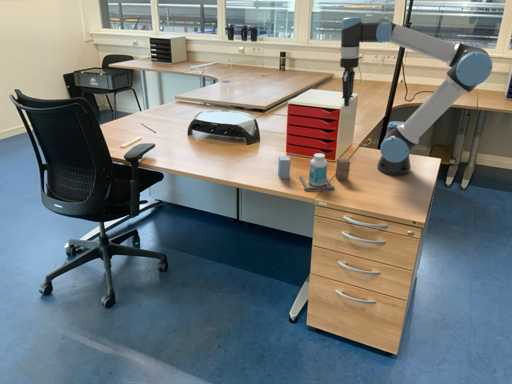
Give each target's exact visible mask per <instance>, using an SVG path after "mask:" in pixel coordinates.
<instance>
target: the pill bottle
mask: <svg viewBox="0 0 512 384" xmlns="http://www.w3.org/2000/svg"><path fill="white" fill-rule="evenodd" d="M325 158H326V155H325V154H324V153H320V152H319V153H314V154H313V158H312V159H311V160H310V162H309V170H308V171H309V174H308V175H309V176H308V184H309V185H310V186H311V187H324V186H325V185H326V184H327V182H326V176H327V170H328V161H327V160H326V159H325Z"/></svg>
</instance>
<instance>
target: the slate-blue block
mask: <svg viewBox="0 0 512 384" xmlns="http://www.w3.org/2000/svg"><path fill="white" fill-rule="evenodd" d="M291 160H292V159H291V157H290V156H289V155H287V156H286V155H284V156H283V155H281V156H278V165H277V166H278V167H277V176H278V178H279V179H281V178H287V179H290V177H291V176H290V175H291V162H292V161H291ZM281 180H282V179H281Z"/></svg>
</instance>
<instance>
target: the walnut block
mask: <svg viewBox="0 0 512 384" xmlns="http://www.w3.org/2000/svg"><path fill="white" fill-rule="evenodd" d="M335 167H336V168H335V175H334V176H335V178H336V180H337V181H346V182H347V181H348V180H349V174H350V168H351V161H350V160H349V158H347V157H343V158H341V157H340V158H339V157H338V158H337V159H336V166H335Z"/></svg>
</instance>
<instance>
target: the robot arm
mask: <svg viewBox="0 0 512 384" xmlns="http://www.w3.org/2000/svg"><path fill="white" fill-rule="evenodd" d="M340 36H341V38H340V41H341V42H340V43H341V44H340V49H339V51H340V57H341V58H340V59H339V60H340V61H339V66H340V68H341V69H342V68H343V69H344V71H343V74H342V76H341V81H342V97H341V99H343V114H348V115H349V114H351V110H352V109H351V106H352V98H354V95H353V92H354V82H355V75H356V72H355V68H358V67H359V61H360V59H359V57H360V47H361V46H360V45H361V43H381V44H382V43H391V44H393V45H396V46H399V47H401V48H404V49H407V50H410V51H412V52H416V53H419V54H422V55H423V56H426V57H430V58H432V59H435V60H438V61H440V62H443V63H445V64H447V67H450V69H449V70H448V71H447V72H446V74H445V77H446V78H445V80H444V81H443V82H442V83H441V84H440V85H439V86H438V87H437V88H436V89H435V90H434V91H432V94H430V96H428V98H426V100H425V101H424V102H423V103H422V104H421V105H420V106H419V107H418V108H417V109H416V110H415V111H414V112H413V113H412V114H411V115H410V116H409V117H408V119H407V120H406V121H390V122H388V125H387V126H386V127H387V130H386V134H385V136H384V138H383V140H382V141H381V144H380V148H379V149H380V154H381V156H380V158H379V160H378V162H377V166H376V169H377V170H378V171H380V172H381V173H382V174H386V175H390V176H398V177H401V176H406V175H409V174H410V173H411V168H412V167H411V166H412V165H411V161H410V154H411V153H410V152H411V151H412V150H413V149H414V148H415V147H416V146H417V145H418V144H420V143H419V142H420V137H421V136H422V135H423V134H424V133H425V132H426V131H427V130H428V129H429V128H430V127H431V126H432V125H433V124H434V123H436V121H437V120H438V119H439V118H440V117H441V116H442V115H444V113H446V111H447V110H448V109H449V108H451V106H452V105H453V104H454V103H455V102H457V100H458V99H459V98H461V96H462V95H463V94H469V93H471V92H472V91H473V90H474V89H475V88H476V87H477V86H478V85H481V84H483V83H484V82H485V81H486V80H487V79H488V78H489V77H490V75H491V73H492V70H493V61H492V58H491V56H490V54H489V53H488V52H487V51H486V50H485V49H484V48H481V47H478V46H472V45H468V44H464V43H461V42H458V43H452V42H450V41H446V40H444V39H441V38H438V37H435V36H432V35H429V34H426V33H423V32H421V31H417V30H415V29H413V28H412V29H411V28H409V27H405V26H403V25H400V24H396V23H394V22H392V21H391V22H390V21H389V20H388V19H385V18H380V19H378V20H376V21H372V22H370V21H368V22H366V21H365V22H364V21H362V18H361V17H360V16H350V17H344V18H343V19H342V23H341V34H340Z"/></svg>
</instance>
